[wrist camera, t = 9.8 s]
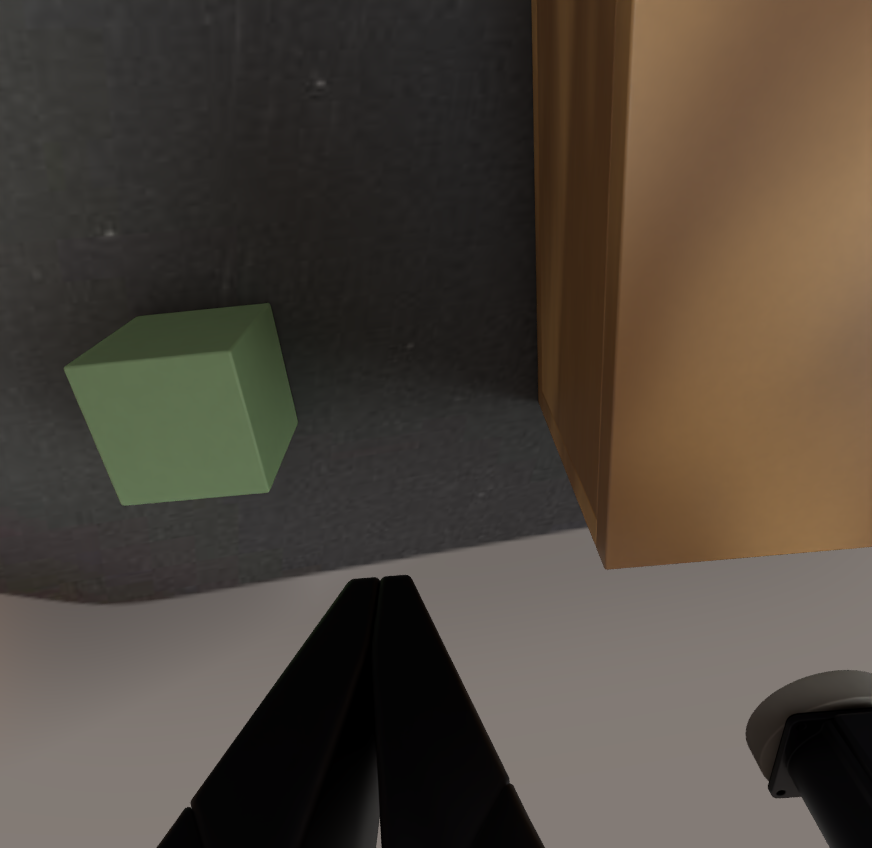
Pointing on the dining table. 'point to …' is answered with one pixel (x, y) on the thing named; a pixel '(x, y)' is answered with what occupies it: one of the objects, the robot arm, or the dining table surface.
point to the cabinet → (707, 272)
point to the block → (188, 404)
